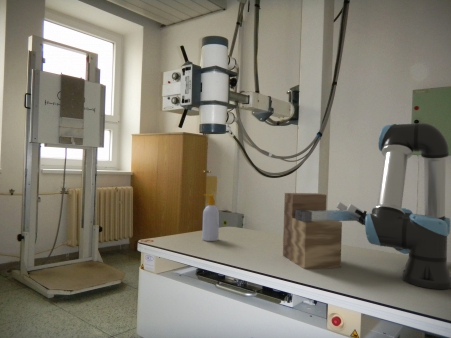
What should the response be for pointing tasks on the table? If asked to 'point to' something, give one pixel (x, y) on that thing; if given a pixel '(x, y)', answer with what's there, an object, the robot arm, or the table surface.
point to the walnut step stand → (310, 234)
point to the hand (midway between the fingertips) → (343, 205)
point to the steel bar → (325, 215)
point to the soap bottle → (210, 221)
